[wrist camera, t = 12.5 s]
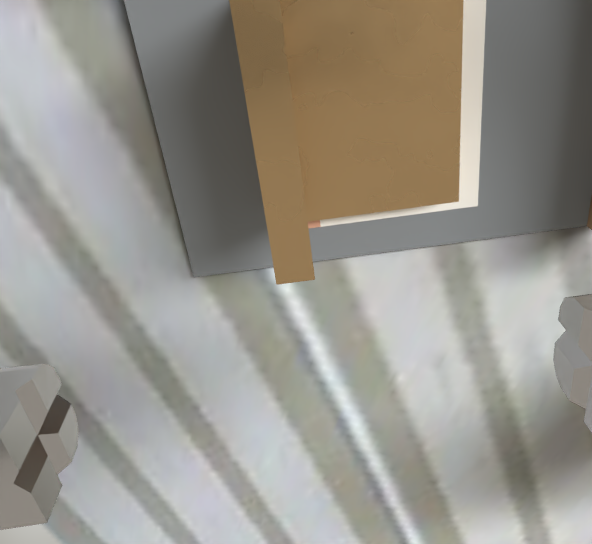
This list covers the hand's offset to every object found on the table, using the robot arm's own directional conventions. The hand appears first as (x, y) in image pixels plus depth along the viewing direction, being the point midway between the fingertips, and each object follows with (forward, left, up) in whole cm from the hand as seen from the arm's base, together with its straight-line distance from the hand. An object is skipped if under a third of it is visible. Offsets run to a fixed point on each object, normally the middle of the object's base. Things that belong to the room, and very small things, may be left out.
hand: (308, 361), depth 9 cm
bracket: (0, +3, -18) cm, 19 cm away
